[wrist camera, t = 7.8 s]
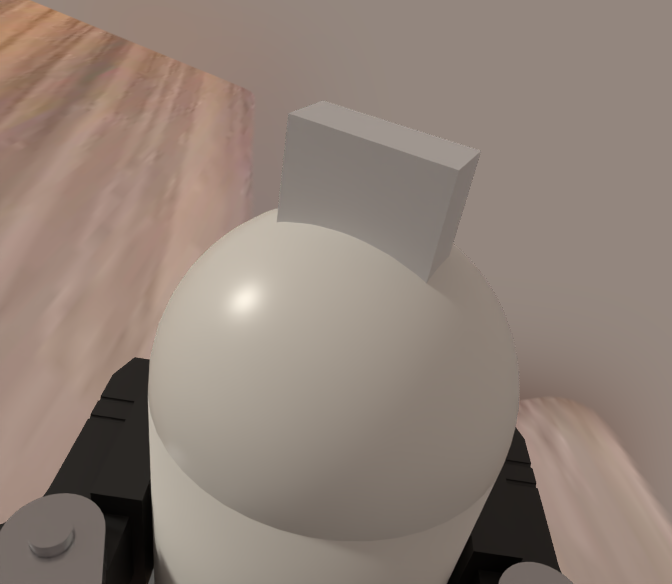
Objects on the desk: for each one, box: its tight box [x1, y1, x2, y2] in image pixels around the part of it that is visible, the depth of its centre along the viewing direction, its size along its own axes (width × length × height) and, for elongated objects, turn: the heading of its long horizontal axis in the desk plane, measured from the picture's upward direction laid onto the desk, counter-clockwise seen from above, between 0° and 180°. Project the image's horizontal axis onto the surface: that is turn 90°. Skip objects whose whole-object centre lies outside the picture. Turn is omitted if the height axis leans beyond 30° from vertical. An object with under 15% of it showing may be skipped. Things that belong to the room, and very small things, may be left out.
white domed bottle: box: [148, 101, 520, 584], centre depth 9 cm, size 5×5×12 cm
